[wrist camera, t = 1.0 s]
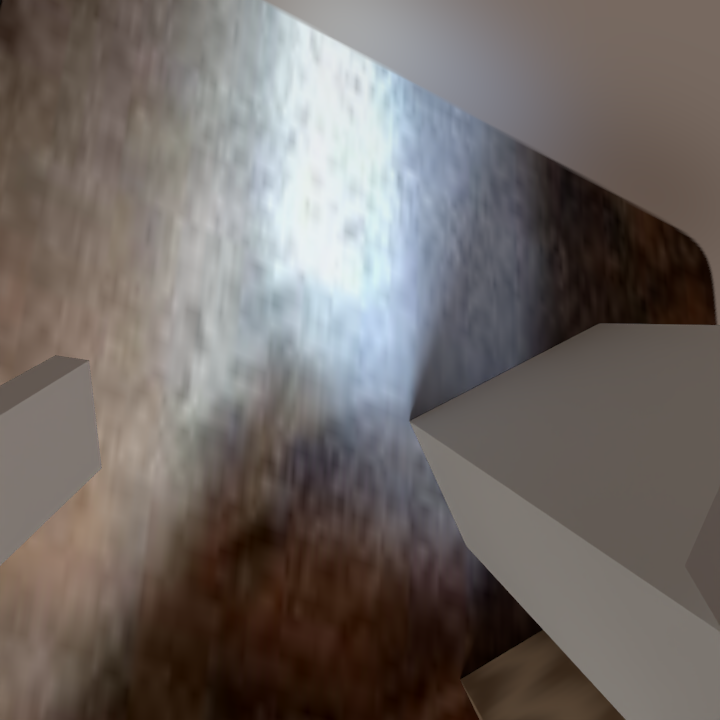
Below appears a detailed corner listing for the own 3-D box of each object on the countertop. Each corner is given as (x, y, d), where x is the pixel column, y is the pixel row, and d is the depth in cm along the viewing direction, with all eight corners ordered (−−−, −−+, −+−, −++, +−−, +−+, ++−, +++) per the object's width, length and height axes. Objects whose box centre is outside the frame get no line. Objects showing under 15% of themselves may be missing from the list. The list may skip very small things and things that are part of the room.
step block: (466, 545, 33) (1147, 1289, 8) (409, 421, 32) (1013, 830, 6) (645, 444, 35) (1657, 775, 10) (599, 323, 34) (1638, 339, 8)
